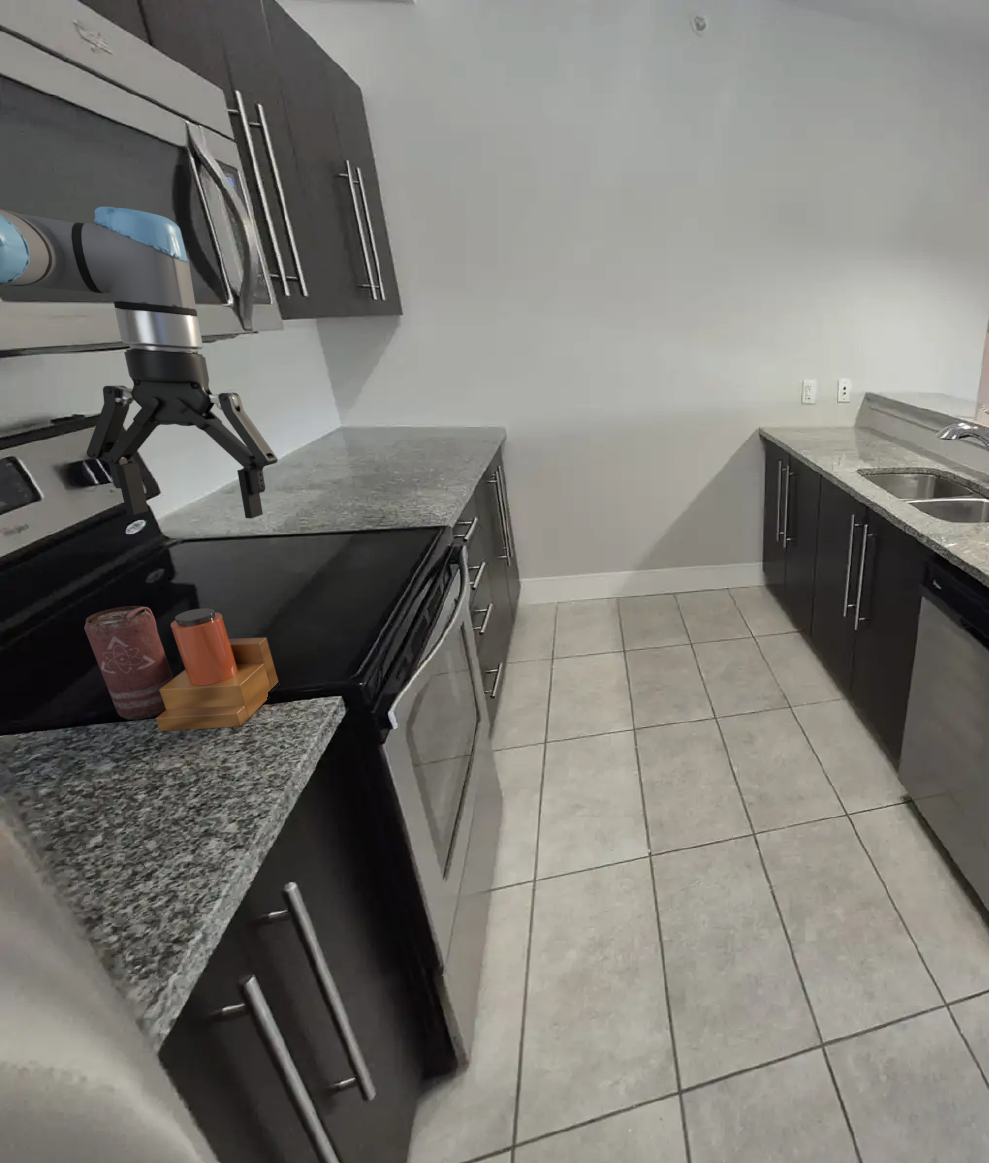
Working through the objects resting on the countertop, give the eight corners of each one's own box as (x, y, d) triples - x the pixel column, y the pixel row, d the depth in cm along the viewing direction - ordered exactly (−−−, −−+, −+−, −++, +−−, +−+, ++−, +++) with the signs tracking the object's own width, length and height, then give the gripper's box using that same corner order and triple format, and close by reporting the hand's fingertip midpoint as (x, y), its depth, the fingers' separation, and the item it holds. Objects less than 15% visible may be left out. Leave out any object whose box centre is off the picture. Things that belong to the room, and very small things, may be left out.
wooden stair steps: (160, 731, 81) (140, 677, 78) (208, 690, 90) (192, 640, 88) (240, 726, 83) (224, 673, 80) (280, 686, 92) (266, 637, 89)
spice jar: (179, 686, 82) (158, 623, 79) (204, 667, 87) (184, 606, 83) (224, 684, 83) (205, 621, 80) (246, 665, 88) (228, 605, 84)
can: (194, 700, 88) (163, 608, 83) (138, 725, 82) (101, 627, 77) (163, 691, 90) (131, 600, 84) (107, 715, 84) (69, 619, 79)
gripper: (292, 358, 87) (313, 512, 93) (70, 342, 82) (109, 506, 88) (261, 357, 80) (286, 523, 86) (16, 339, 75) (62, 517, 81)
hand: (197, 515), depth 87 cm, fingers open, 13 cm apart
